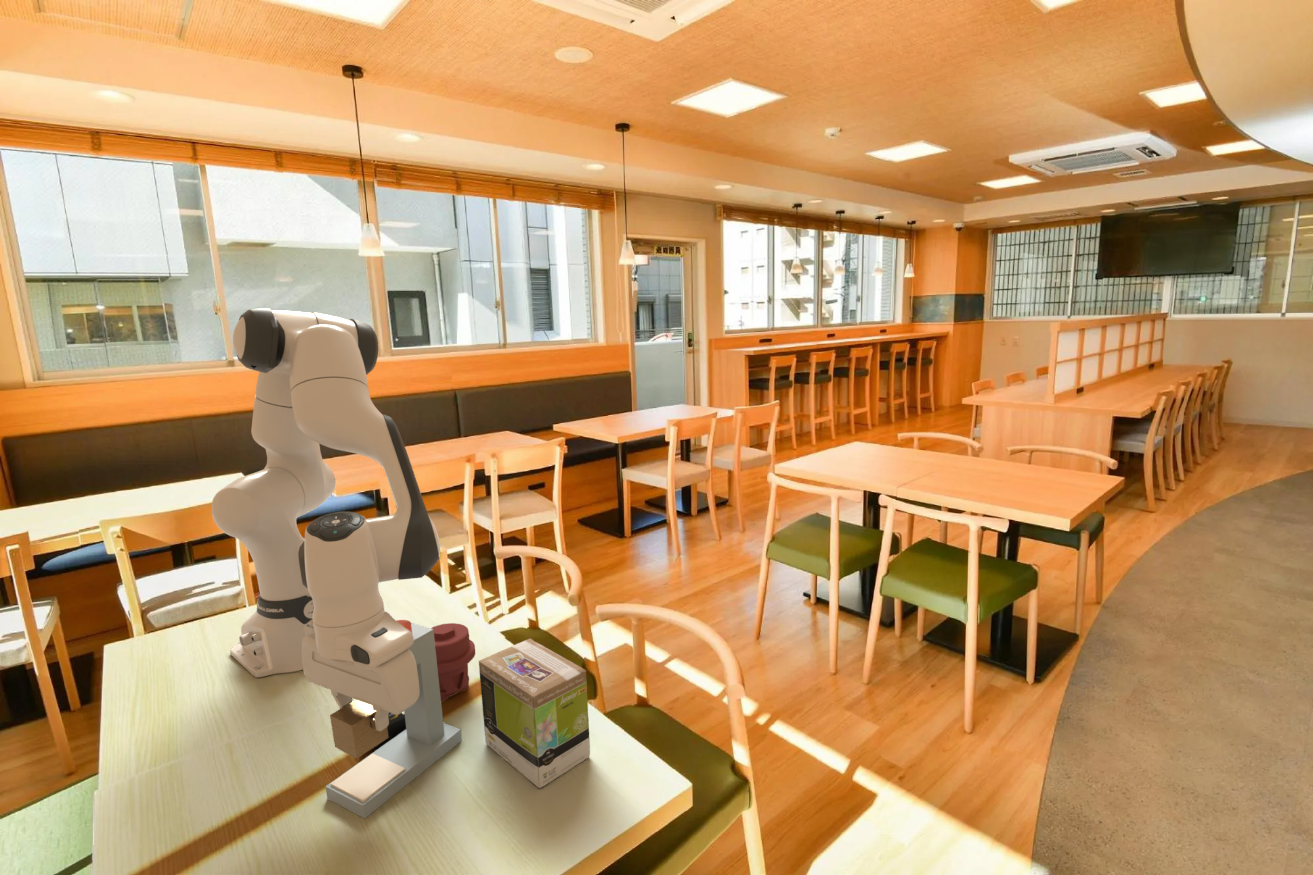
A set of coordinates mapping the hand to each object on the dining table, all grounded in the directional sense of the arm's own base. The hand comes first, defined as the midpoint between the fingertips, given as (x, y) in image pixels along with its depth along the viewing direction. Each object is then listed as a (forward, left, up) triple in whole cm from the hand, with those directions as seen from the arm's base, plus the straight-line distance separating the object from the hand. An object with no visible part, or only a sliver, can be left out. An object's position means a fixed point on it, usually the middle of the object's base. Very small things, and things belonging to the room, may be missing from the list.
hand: (364, 721), depth 92 cm
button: (0, +7, -1) cm, 7 cm away
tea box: (+16, +17, -11) cm, 26 cm away
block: (0, -1, -3) cm, 3 cm away
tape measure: (-8, +9, -11) cm, 16 cm away
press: (0, +5, -11) cm, 12 cm away
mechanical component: (-8, +23, -11) cm, 27 cm away
